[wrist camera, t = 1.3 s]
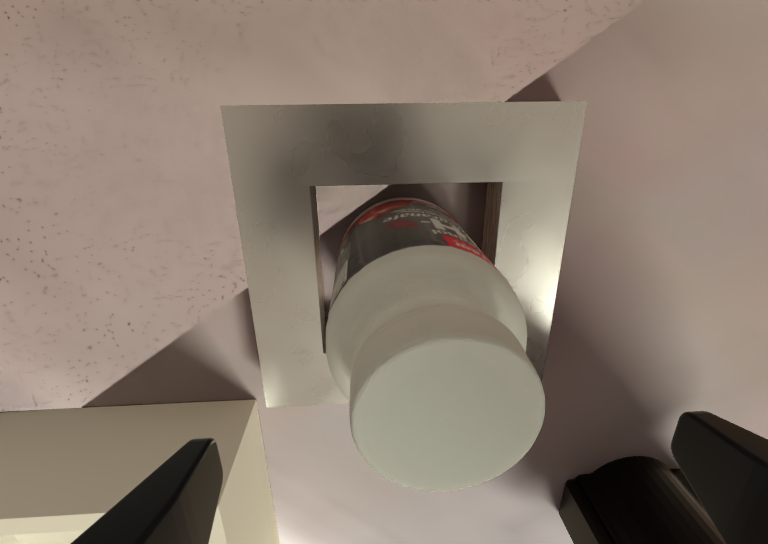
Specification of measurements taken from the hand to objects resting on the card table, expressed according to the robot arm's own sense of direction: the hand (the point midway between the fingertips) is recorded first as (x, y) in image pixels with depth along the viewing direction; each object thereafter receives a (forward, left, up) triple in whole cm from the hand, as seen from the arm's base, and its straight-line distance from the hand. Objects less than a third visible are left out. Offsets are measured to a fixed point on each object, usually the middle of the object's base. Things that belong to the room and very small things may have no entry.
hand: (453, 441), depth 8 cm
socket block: (0, 0, -10) cm, 10 cm away
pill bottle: (0, 0, -10) cm, 10 cm away
